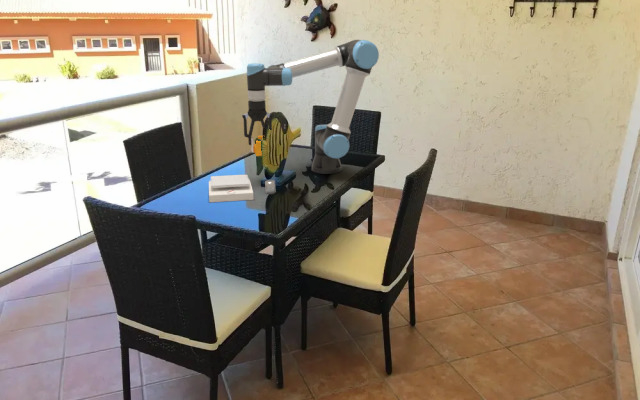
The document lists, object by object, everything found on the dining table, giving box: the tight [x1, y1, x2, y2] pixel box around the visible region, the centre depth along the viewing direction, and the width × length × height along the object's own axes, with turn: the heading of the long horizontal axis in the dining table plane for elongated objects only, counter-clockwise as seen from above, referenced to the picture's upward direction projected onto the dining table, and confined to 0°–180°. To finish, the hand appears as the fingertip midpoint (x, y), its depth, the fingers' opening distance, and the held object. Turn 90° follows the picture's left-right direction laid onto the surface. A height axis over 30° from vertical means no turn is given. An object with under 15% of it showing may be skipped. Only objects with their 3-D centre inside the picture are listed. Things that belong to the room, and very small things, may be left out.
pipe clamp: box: [253, 135, 264, 157], centre depth 222 cm, size 12×4×6 cm, turn 179°
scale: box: [208, 174, 254, 203], centre depth 213 cm, size 18×20×6 cm
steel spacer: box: [264, 179, 276, 195], centre depth 214 cm, size 4×4×5 cm
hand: (258, 151), depth 224 cm, fingers closed on pipe clamp, 5 cm apart
